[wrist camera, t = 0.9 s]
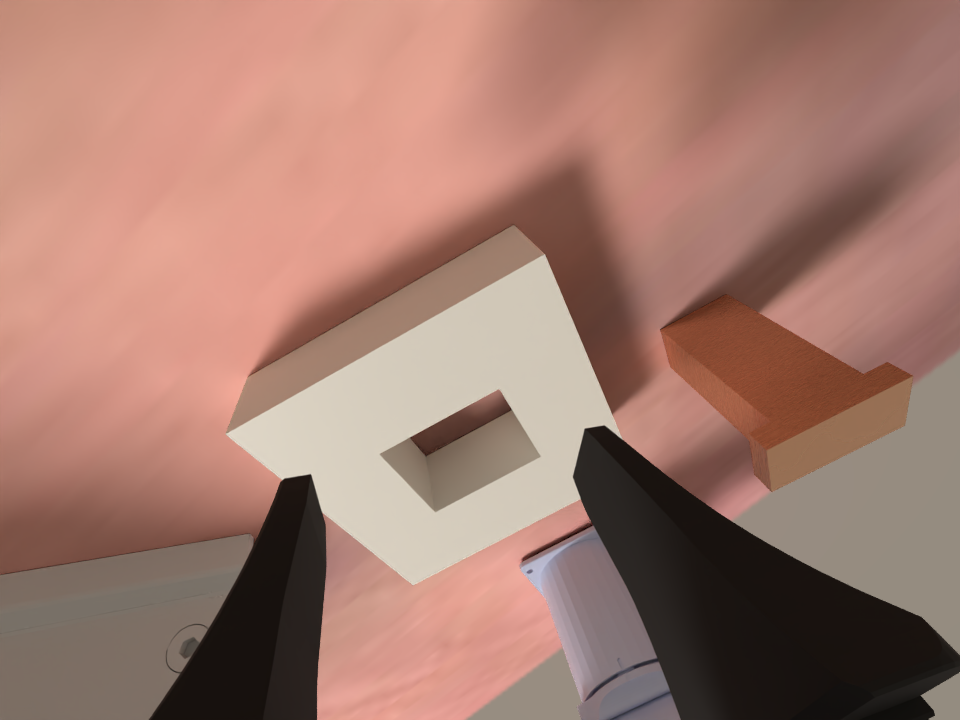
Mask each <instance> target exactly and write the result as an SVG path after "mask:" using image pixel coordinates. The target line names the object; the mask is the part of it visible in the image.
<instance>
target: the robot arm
mask: <svg viewBox="0 0 960 720" xmlns="http://www.w3.org/2000/svg"><path fill="white" fill-rule="evenodd" d="M573 479H574V482H575V485H576V487H577V490H578V493H579V495H580V498H581V500H582V503H583V505H584V508H585V510H586V512H587V514H588V516H589V518H590V520H591V522H592V524H593V526H591V527H589V528H588V529H586V530H584V531H582V532H580V533H578V534H576V535H574V536H572V537H570V538H568V539H566V540H564V541H562V542H560V543H558V544H556V545H554V546H552V547H550V548H548V549H546V550H544V551H542V552H540V553H538V554H537V555H535V556H533V557H531V558H529V559H527V560H525V561H523V562H522V563H521V564H520V569H521V571H522V572H523V574H524V575H525V576H526V577H527V578H528V579H529V580H530V582H531V583H532V584H533V585H534V586H535V587H536V588H537V590H538V591H539V592H540V593H541V594H542V595H543V596H544V598H545V599H546V601H547V604H548V607H549V610H550V613H551V616H552V618H553V621H554V624H555V627H556V630H557V633H558V635H559V638H560V641H561V644H562V647H563V650H564V652H565V655H566V658H567V661H568V664H569V666H570V669H571V672H572V675H573V678H574V680H575V683H576V686H577V689H578V692H579V695H580V698H581V700H582V704H580V705H578V706H577V709H578V712H579V714H580V717H581V720H929V718H931V717H933V716H935V714H934V710H933V709H932V708H931V707H930V706H929V705H928V704H927V702H926V701H925V700H924V699H923V698H922V697H921V696H920V695H922V694H924V693H925V692H927V691H929V690H931V689H932V688H934V687H935V686H937V685H939V684H941V683H942V682H944V681H946V680H947V679H949V678H951V677H952V676H954V675H956V674H957V673H959V672H960V655H959V654H958V653H957V652H956V651H955V650H954V649H953V648H952V647H951V646H950V645H949V644H948V643H947V642H946V641H945V640H944V639H943V638H942V637H941V636H940V635H939V634H938V633H937V632H936V631H935V630H934V629H933V628H932V627H931V626H930V625H929V624H928V623H927V622H926V621H925V620H924V619H923V618H922V617H920V616H918V615H915V614H913V613H911V612H908V611H906V610H904V609H901V608H899V607H897V606H894V605H892V604H890V603H887V602H885V601H883V600H880V599H878V598H876V597H873V596H871V595H869V594H866V593H864V592H862V591H860V590H858V589H855V588H853V587H851V586H849V585H847V584H845V583H843V582H840V581H839V580H836V579H834V578H832V577H830V576H828V575H826V574H824V573H822V572H820V571H818V570H816V569H814V568H812V567H810V566H808V565H806V564H804V563H802V562H801V561H799V560H797V559H795V558H793V557H791V556H790V555H788V554H786V553H784V552H782V551H781V550H779V549H777V548H775V547H773V546H771V545H770V544H768V543H766V542H764V541H763V540H761V539H759V538H758V537H756V536H754V535H753V534H751V533H749V532H748V531H746V530H744V529H743V528H741V527H740V526H738V525H736V524H735V523H733V522H732V521H730V520H729V519H727V518H726V517H724V516H722V515H721V514H719V513H718V512H716V511H715V510H713V509H712V508H711V507H709V506H708V505H706V504H705V503H704V502H702V501H701V500H699V499H698V498H696V497H695V496H694V495H692V494H691V493H689V492H688V491H687V490H685V489H684V488H683V487H681V486H680V485H679V484H677V483H676V482H675V481H673V480H672V479H671V478H669V477H668V476H667V475H666V474H664V473H663V472H662V471H661V470H659V469H658V468H657V467H655V466H654V465H653V464H652V463H650V462H649V461H648V460H647V459H646V458H644V457H643V456H642V455H641V454H639V453H638V452H637V451H636V450H634V449H633V448H632V447H631V446H630V445H628V444H627V443H626V442H625V441H624V440H622V439H621V438H620V437H619V436H617V435H616V434H615V433H614V432H613V431H611V430H610V429H609V428H608V427H606V426H605V425H603V426H597V427H591V428H585V429H584V433H583V437H582V441H581V445H580V449H579V453H578V457H577V461H576V465H575V470H574V474H573ZM325 578H326V527H325V521H324V518H323V514H322V511H321V507H320V503H319V500H318V496H317V493H316V489H315V486H314V482H313V479H312V475H311V474H308V475H302V476H296V477H290V478H284V479H283V480H282V481H281V482H280V485H279V487H278V490H277V493H276V495H275V498H274V501H273V503H272V505H271V508H270V510H269V513H268V515H267V517H266V520H265V522H264V524H263V526H262V528H261V531H260V533H259V535H258V537H257V539H256V541H255V543H254V545H253V547H252V549H251V551H250V553H249V555H248V558H247V560H246V562H245V564H244V566H243V568H242V570H241V572H240V573H239V575H238V577H237V579H236V581H235V583H234V584H233V586H232V588H231V590H230V592H229V594H228V595H227V597H226V599H225V601H224V603H223V604H222V606H221V608H220V610H219V612H218V613H217V615H216V617H215V619H214V620H213V622H212V624H211V625H210V627H209V629H208V630H207V632H206V634H205V635H204V637H203V639H202V640H201V642H200V643H199V645H198V647H197V648H196V650H195V651H194V653H193V654H192V656H191V658H190V659H189V661H188V662H187V664H186V665H185V667H184V669H183V670H182V672H181V673H180V675H179V676H178V678H177V679H176V681H175V682H174V683H173V685H172V686H171V688H170V689H169V691H168V692H167V694H166V695H165V697H164V698H163V700H162V701H161V703H160V704H159V705H158V707H157V708H156V710H155V711H154V713H153V714H152V716H151V717H150V718H149V720H317V677H318V660H319V649H320V637H321V625H322V614H323V602H324V590H325Z"/></svg>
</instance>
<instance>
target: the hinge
mask: <svg viewBox="0 0 960 720" xmlns="http://www.w3.org/2000/svg"><path fill="white" fill-rule="evenodd" d="M253 541H254V538H253V537H252V535H251V534H244V535H238V536H232V537H226V538H220V539H214V540H208V541H202V542H196V543H190V544H184V545H178V546H172V547H166V548H160V549H154V550H148V551H142V552H136V553H130V554H124V555H118V556H112V557H106V558H100V559H94V560H88V561H82V562H76V563H70V564H64V565H58V566H52V567H46V568H40V569H34V570H28V571H22V572H16V573H9V574H3V575H0V720H149V718H150V717H151V716H152V714H153V713H154V711H155V710H156V708H157V707H158V705H159V704H160V703H161V701H162V700H163V698H164V697H165V695H166V694H167V692H168V691H169V689H170V688H171V686H172V685H173V683H174V682H175V681H176V679H177V678H178V676H179V675H180V673H181V672H182V670H183V669H184V667H185V665H186V664H187V662H188V661H189V659H190V658H191V656H192V654H193V653H194V651H195V650H196V648H197V647H198V645H199V643H200V642H201V640H202V639H203V637H204V635H205V634H206V632H207V630H208V629H209V627H210V625H211V624H212V622H213V620H214V619H215V617H216V615H217V613H218V612H219V610H220V608H221V606H222V604H223V603H224V601H225V599H226V597H227V595H228V594H229V592H230V590H231V588H232V586H233V584H234V583H235V581H236V579H237V577H238V575H239V573H240V572H241V570H242V568H243V566H244V564H245V562H246V560H247V558H248V555H249V553H250V551H251V549H252V547H253Z"/></svg>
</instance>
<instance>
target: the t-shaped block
mask: <svg viewBox="0 0 960 720" xmlns="http://www.w3.org/2000/svg"><path fill="white" fill-rule="evenodd" d="M661 334H662V338H663V341H664V345H665V348H666V352H667V356H668V359H669V363H670V367H671V368H672V369H673V370H674V371H675V372H676V373H677V374H678V375H679V376H681V377H682V378H683V379H684V380H685V381H686V382H687V383H688V384H689V385H690V386H691V387H692V388H693V389H695V390H696V391H697V392H698V393H699V394H700V395H701V396H702V397H703V398H704V399H705V400H706V401H707V402H709V403H710V404H711V405H712V406H713V407H714V408H715V409H716V410H717V411H718V412H719V413H720V414H721V415H723V416H724V417H725V418H726V419H727V420H728V421H729V422H730V423H731V424H732V425H733V426H734V427H736V428H737V429H738V430H739V431H740V432H741V433H742V434H743V435H744V436H745V437H746V438H747V439H748V440H749V443H750V449H751V456H752V462H753V469H754V475H755V476H756V477H757V478H758V479H759V480H760V481H761V482H762V483H763V484H764V485H765V486H766V487H767V488H768V489H769V490H770V491H771V492H773V491H775V490H777V489H779V488H781V487H783V486H785V485H787V484H789V483H791V482H793V481H795V480H797V479H799V478H801V477H803V476H805V475H807V474H809V473H811V472H813V471H815V470H817V469H819V468H821V467H823V466H825V465H827V464H829V463H831V462H833V461H835V460H837V459H839V458H841V457H843V456H845V455H847V454H849V453H851V452H853V451H855V450H857V449H859V448H861V447H863V446H865V445H867V444H869V443H871V442H873V441H875V440H877V439H879V438H881V437H883V436H885V435H887V434H889V433H891V432H893V431H895V430H897V429H899V428H901V427H903V426H905V422H906V416H907V411H908V404H909V399H910V393H911V387H912V381H913V375H911V374H909V373H907V372H905V371H903V370H901V369H899V368H898V367H896V366H894V365H892V364H890V363H888V362H886V363H884V364H883V365H881V366H879V367H877V368H875V369H873V370H871V371H869V372H867V373H865V374H862V373H861V372H859V371H857V370H856V369H854V368H852V367H850V366H849V365H847V364H845V363H844V362H842V361H840V360H838V359H837V358H835V357H833V356H832V355H830V354H828V353H826V352H825V351H823V350H821V349H820V348H818V347H816V346H814V345H813V344H811V343H809V342H808V341H806V340H804V339H802V338H801V337H799V336H797V335H796V334H794V333H792V332H790V331H789V330H787V329H785V328H784V327H782V326H780V325H779V324H777V323H775V322H773V321H772V320H770V319H768V318H767V317H765V316H763V315H761V314H760V313H758V312H756V311H755V310H753V309H751V308H749V307H748V306H746V305H744V304H743V303H741V302H739V301H737V300H736V299H734V298H732V297H731V296H729V295H727V294H726V295H724V296H722V297H720V298H718V299H716V300H715V301H713V302H711V303H709V304H707V305H705V306H703V307H702V308H700V309H698V310H696V311H694V312H692V313H690V314H689V315H687V316H685V317H683V318H681V319H679V320H677V321H676V322H674V323H672V324H670V325H668V326H666V327H664V328H663V329H661Z"/></svg>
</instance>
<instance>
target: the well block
mask: <svg viewBox="0 0 960 720" xmlns="http://www.w3.org/2000/svg"><path fill="white" fill-rule="evenodd" d="M498 389H500V391H501V392H502V394H503V396H504V397H505V399H506V401H507V402H508V404H509V406H510V407H511V409H512V410H511V411H509V412H507V413H506V414H504V415H502V416H500V417H498V418H496V419H494V420H493V421H491V422H489V423H487V424H485V425H483V426H481V427H480V428H478V429H476V430H474V431H472V432H470V433H468V434H467V435H465V436H463V437H461V438H459V439H457V440H455V441H454V442H452V443H450V444H448V445H446V446H444V447H442V448H441V449H439V450H437V451H435V452H433V453H431V454H429V455H428V456H425V455H424V454H423V453H422V451H421V450H420V449H419V448H418V447H417V446H416V445H415V443H414V442H413V441H412V440H411V439H410V437H412V436H413V435H415V434H417V433H419V432H421V431H423V430H424V429H426V428H428V427H430V426H432V425H434V424H435V423H437V422H439V421H441V420H443V419H445V418H447V417H448V416H450V415H452V414H454V413H456V412H458V411H459V410H461V409H463V408H465V407H467V406H469V405H470V404H472V403H474V402H476V401H478V400H480V399H481V398H483V397H485V396H487V395H489V394H491V393H492V392H494V391H496V390H498ZM603 425H605V426H606V427H608V428H609V429H610V430H611V431H613V432H614V433H615V434H616V435H617V436H619V437H620V438H621V439H622V437H621V435H620V432H619V430H618V428H617V425H616V423H615V420H614V418H613V416H612V413H611V411H610V408H609V406H608V404H607V401H606V399H605V396H604V394H603V392H602V389H601V387H600V385H599V382H598V380H597V377H596V375H595V373H594V370H593V368H592V365H591V363H590V361H589V358H588V356H587V353H586V351H585V349H584V346H583V344H582V342H581V339H580V337H579V334H578V332H577V330H576V327H575V325H574V322H573V320H572V318H571V315H570V313H569V311H568V308H567V306H566V303H565V301H564V299H563V296H562V294H561V291H560V289H559V287H558V284H557V282H556V279H555V277H554V275H553V272H552V270H551V268H550V265H549V263H548V260H547V258H546V256H545V254H544V253H543V252H542V251H541V250H540V249H539V248H538V247H537V246H536V245H535V244H534V243H533V242H532V241H530V240H529V239H528V238H527V237H526V236H525V235H524V234H523V233H522V232H521V231H520V230H519V229H518V228H517V227H516V226H515V225H512V226H511V227H509V228H507V229H505V230H504V231H502V232H500V233H498V234H497V235H495V236H493V237H491V238H490V239H488V240H486V241H485V242H483V243H481V244H479V245H478V246H476V247H474V248H472V249H471V250H469V251H467V252H465V253H464V254H462V255H460V256H458V257H457V258H455V259H453V260H451V261H450V262H448V263H446V264H444V265H443V266H441V267H439V268H437V269H436V270H434V271H432V272H430V273H429V274H427V275H425V276H423V277H422V278H420V279H418V280H416V281H415V282H413V283H411V284H409V285H408V286H406V287H404V288H402V289H401V290H399V291H397V292H395V293H394V294H392V295H390V296H388V297H387V298H385V299H383V300H381V301H380V302H378V303H376V304H374V305H373V306H371V307H369V308H367V309H366V310H364V311H362V312H361V313H359V314H357V315H355V316H354V317H352V318H350V319H348V320H347V321H345V322H343V323H341V324H340V325H338V326H336V327H334V328H333V329H331V330H329V331H327V332H326V333H324V334H322V335H320V336H319V337H317V338H315V339H313V340H312V341H310V342H308V343H306V344H305V345H303V346H301V347H299V348H298V349H296V350H294V351H292V352H291V353H289V354H287V355H285V356H284V357H282V358H280V359H278V360H277V361H275V362H273V363H271V364H270V365H268V366H266V367H264V368H263V369H261V370H259V371H257V372H256V373H254V374H252V375H250V376H249V377H247V380H246V383H245V385H244V388H243V390H242V393H241V395H240V398H239V401H238V403H237V406H236V408H235V411H234V413H233V416H232V419H231V421H230V424H229V426H228V429H227V431H226V435H227V436H228V437H229V438H231V439H232V440H233V441H234V442H236V443H237V444H238V445H239V446H241V447H242V448H243V449H244V450H246V451H247V452H248V453H249V454H250V455H252V456H253V457H254V458H255V459H257V460H258V461H259V462H260V463H262V464H263V465H264V466H265V467H267V468H268V469H269V470H270V471H272V472H273V473H274V474H275V475H277V476H278V477H279V478H280V479H282V480H283V479H284V478H290V477H296V476H302V475H308V474H311V475H312V479H313V482H314V486H315V489H316V493H317V496H318V500H319V503H320V507H321V511H322V512H323V513H324V514H325V515H326V516H328V517H329V518H330V519H331V520H333V521H334V522H335V523H336V524H337V525H339V526H340V527H341V528H342V529H344V530H345V531H346V532H347V533H349V534H350V535H351V536H352V537H354V538H355V539H356V540H357V541H359V542H360V543H361V544H362V545H364V546H365V547H366V548H367V549H369V550H370V551H371V552H372V553H374V554H375V555H376V556H377V557H378V558H380V559H381V560H382V561H383V562H385V563H386V564H387V565H388V566H390V567H391V568H392V569H393V570H395V571H396V572H397V573H398V574H400V575H401V576H402V577H403V578H405V579H406V580H407V581H408V582H410V583H411V584H412V585H415V584H417V583H419V582H421V581H422V580H424V579H426V578H428V577H430V576H432V575H434V574H436V573H438V572H440V571H442V570H444V569H446V568H448V567H450V566H452V565H453V564H455V563H457V562H459V561H461V560H463V559H465V558H467V557H469V556H471V555H473V554H475V553H477V552H479V551H481V550H483V549H484V548H486V547H488V546H490V545H492V544H494V543H496V542H498V541H500V540H502V539H504V538H506V537H508V536H510V535H512V534H514V533H516V532H517V531H519V530H521V529H523V528H525V527H527V526H529V525H531V524H533V523H535V522H537V521H539V520H541V519H543V518H545V517H547V516H548V515H550V514H552V513H554V512H556V511H558V510H560V509H562V508H564V507H566V506H568V505H570V504H572V503H574V502H576V501H578V500H579V499H581V498H580V495H579V493H578V490H577V487H576V485H575V482H574V479H573V474H574V470H575V465H576V461H577V457H578V453H579V449H580V445H581V441H582V437H583V433H584V429H585V428H591V427H597V426H603ZM622 440H623V439H622Z"/></svg>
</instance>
